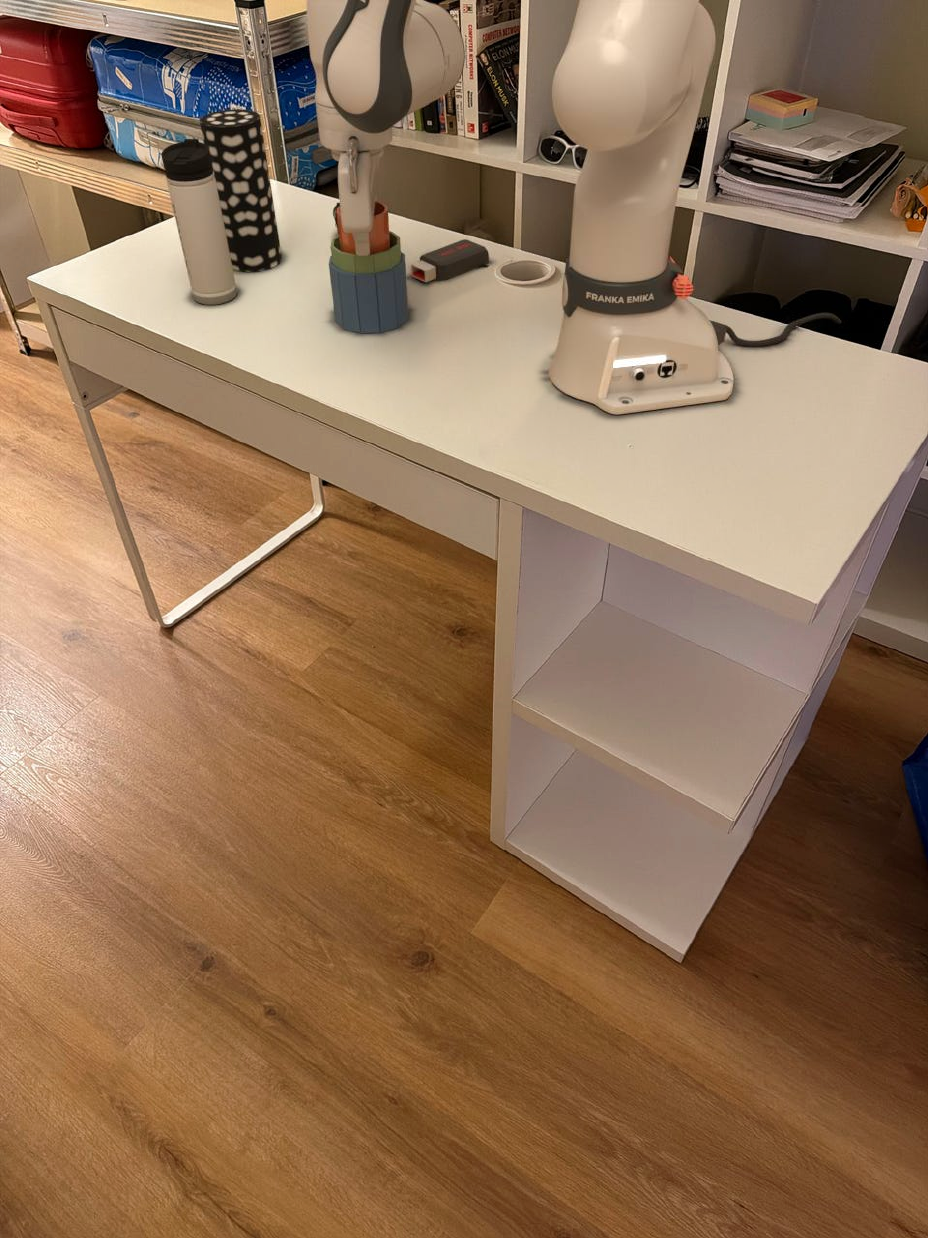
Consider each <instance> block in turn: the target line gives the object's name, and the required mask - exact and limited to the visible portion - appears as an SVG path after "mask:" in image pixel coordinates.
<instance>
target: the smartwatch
mask: <svg viewBox="0 0 928 1238" xmlns="http://www.w3.org/2000/svg"><path fill="white" fill-rule="evenodd" d="M339 206H340V202H336V205H335V206H334V207H333V210H332V217H333V219H334V222H335V224H334V225H335V226H334V227H335V228H336V230H337V234H338V235H339V231H338V222H337V213H336V212H337V208H338V207H339Z"/></svg>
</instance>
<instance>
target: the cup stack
mask: <svg viewBox="0 0 928 1238" xmlns="http://www.w3.org/2000/svg"><path fill="white" fill-rule="evenodd" d="M389 233H390V247H391V249H389V250H387V251H383V252H379V253H375V254H369V255H368V256H358V255H355V254H350V253H345V252H341V250H340V241H339V234H338V235H336V236H334V237H333V238H331V241H330V252H331V253H330V254H331V255H330V256H329V260H328V270H329V278H330V286H331V287H330V288H331V297H332V303H333V312H334V313H333V314H334V320H335V323H336V324H337V325H339V326H340V327H341V328H342V329H343V330H345V331H350V332H354V333H357V334H380V333H381V334H382V333H385V332H388V331H391V330H395V329H398V328H400V327H401V326H403V324H405V323H406V322H407V321H409V302H408V301H409V300H408V299H409V298H408V286H407V285H408V284H407V268H406V254H405V253H404V252H403V251H402V246H401V245H402V244H401V237H400V236H399V235H398V234H396V233H394V232H393V231H391V230H389Z"/></svg>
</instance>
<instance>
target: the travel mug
mask: <svg viewBox="0 0 928 1238" xmlns="http://www.w3.org/2000/svg"><path fill="white" fill-rule="evenodd" d="M160 154H161V160H162V164H163V165H162V166H163V169H164V172H165V174H164V175H165V180H166V184H167V188H168V189H167V190H168V193H169V198H170V202H171V206H172V210H173V214H174V219H175V225H176V228H177V232H178V236H179V242H180V245H181V250H182V255H183V259H184V263H185V267H186V272H187V276H188V281H189V285H190V289H191V292H192V293H191V294H192V299H193V300H195V302H197V303H199V304H202V305H208V306H214V305H221V304H225V303H228V302H230V301H231V300H233V299H235V297H236V296H237V294H238V290H237V284H236V279H235V274H234V269H233V268H232V263H231V258H230V253H229V247H228V242H227V237H226V232H225V227H224V221H223V216H222V211H221V206H220V201H219V195H218V190H217V185H216V180H215V177H214V171H213V167H212V161H211V156H210V151H209V147H208V146H207V145H206V144H204V142H201V141H200V140H199V138H185V139H184V140H183V141H181V142H176V143H173V144H170V145H169V146H167V147H165V148H164V149H163V150H162V151H161V153H160Z"/></svg>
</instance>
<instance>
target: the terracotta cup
mask: <svg viewBox="0 0 928 1238" xmlns="http://www.w3.org/2000/svg"><path fill="white" fill-rule="evenodd" d="M336 213H337V222H338V230H337V232H338V231H339V234H338V235H339V241H340V250H341V252H345V253H350V254H355V255H357V254H356V249H355V241H354V238H353V234H352V233H346V232H344V230H343V227H342V222H341V212H340V206H339V207H338V208H337V212H336ZM389 219H390V218H389V207H388V206H387V204H386V203H384V202H381V201H378V200H375V209H374V218H373V227H372V230H371V232H369V238H370V254H375V253H379V252H383V251H387V250H389V249H391V247H390V233H389V231H390V221H389Z"/></svg>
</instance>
